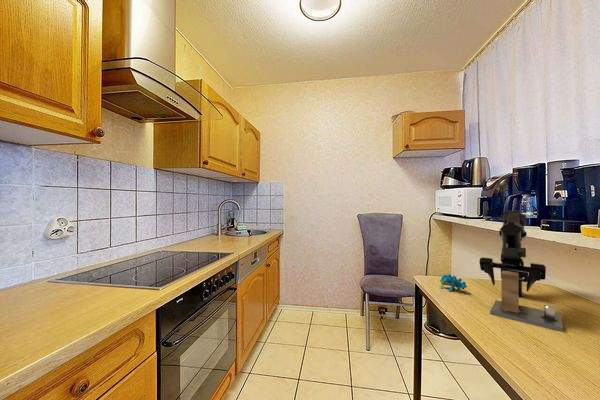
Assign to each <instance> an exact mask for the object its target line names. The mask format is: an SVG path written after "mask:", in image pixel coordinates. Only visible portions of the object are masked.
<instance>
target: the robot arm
mask: <svg viewBox="0 0 600 400" xmlns="http://www.w3.org/2000/svg"><path fill="white" fill-rule="evenodd" d="M525 226H527V215H525V214H524V213H522V211H520V210H507V211H506V213H505V214H503V215H502V226H501V228H499V231H498V233H499V236H500V237H501V241H502V246H501V254H500V262H496V261H494V260H493V258H491V257H484V256H483V257H480V258H479V269H480V271H482V272H484V273H485V274H488V276H489V278H490V280H491V283H492V286H495V284H496V280H495V271H494V268H495V269H500V274H501V273H502V270H503V271H510V272H517V273H518V279H519V298H520V297H521V298H523V297H524V294H525V293H524V292H523V283H526V290H525V291H526V292H529V291H530V289H531V288H532V286H533V285H534V284H535V283H536V282H540V281H541V280H543V281H544V280H546V274H547V273H546V272H547V270H546V269H547V268H546V267H547V266H546V265H545V264H542V263H534V262H530V266H525V262H524V260H523V258H525V259H526V257H527V248H526V247H522V241H523V239H526V237H527V235H528V234H527V232H526V230H525Z"/></svg>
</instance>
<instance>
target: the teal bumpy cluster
mask: <svg viewBox="0 0 600 400" xmlns="http://www.w3.org/2000/svg"><path fill="white" fill-rule="evenodd" d="M439 282H440V284H441V285H440V289H443V287H444V286H449V292H453V289H455V288H456V289H457V290H461V289H462V290H465V289H467V287H468V286H467V283H466V282H465V281H463V279H462V278H461V277H458V279H457V275H451V274H449V273H448V274H444V273H443V275H441V277H440V279H439Z"/></svg>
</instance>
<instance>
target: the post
mask: <svg viewBox="0 0 600 400" xmlns="http://www.w3.org/2000/svg"><path fill="white" fill-rule="evenodd" d="M500 279H501V301H502V310H506V311H510V312H515V313H518V311H519V305H520V304H519V303H520V302H519V301H520V299H519V298H520V297H519V279H518V273H517V272H510V271H503V270H502V273H501V272H500Z"/></svg>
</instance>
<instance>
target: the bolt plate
mask: <svg viewBox="0 0 600 400" xmlns="http://www.w3.org/2000/svg"><path fill="white" fill-rule="evenodd" d="M491 306H492V307H491V308H490V311H489V314H490V315H492V316H496V317H500V318H506V319H509V320H513V321H516V322H517V321H518V322H521V323H526V324H530V325H534V326H538V327H541V328H546V329H550V330H554V331H558V332H563V333H564V324H563V318H562V317H563V315H562V313H558V312H556V307H555V306H554V305H551V304H550V305H549V304H544V305H543V309H540V308H535V307H530V306H525V305H520V304H519V311H518V313H515V312H510V311H506V310H502V300H497V299H496V300H495V301H494V303H493V305H491Z"/></svg>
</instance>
